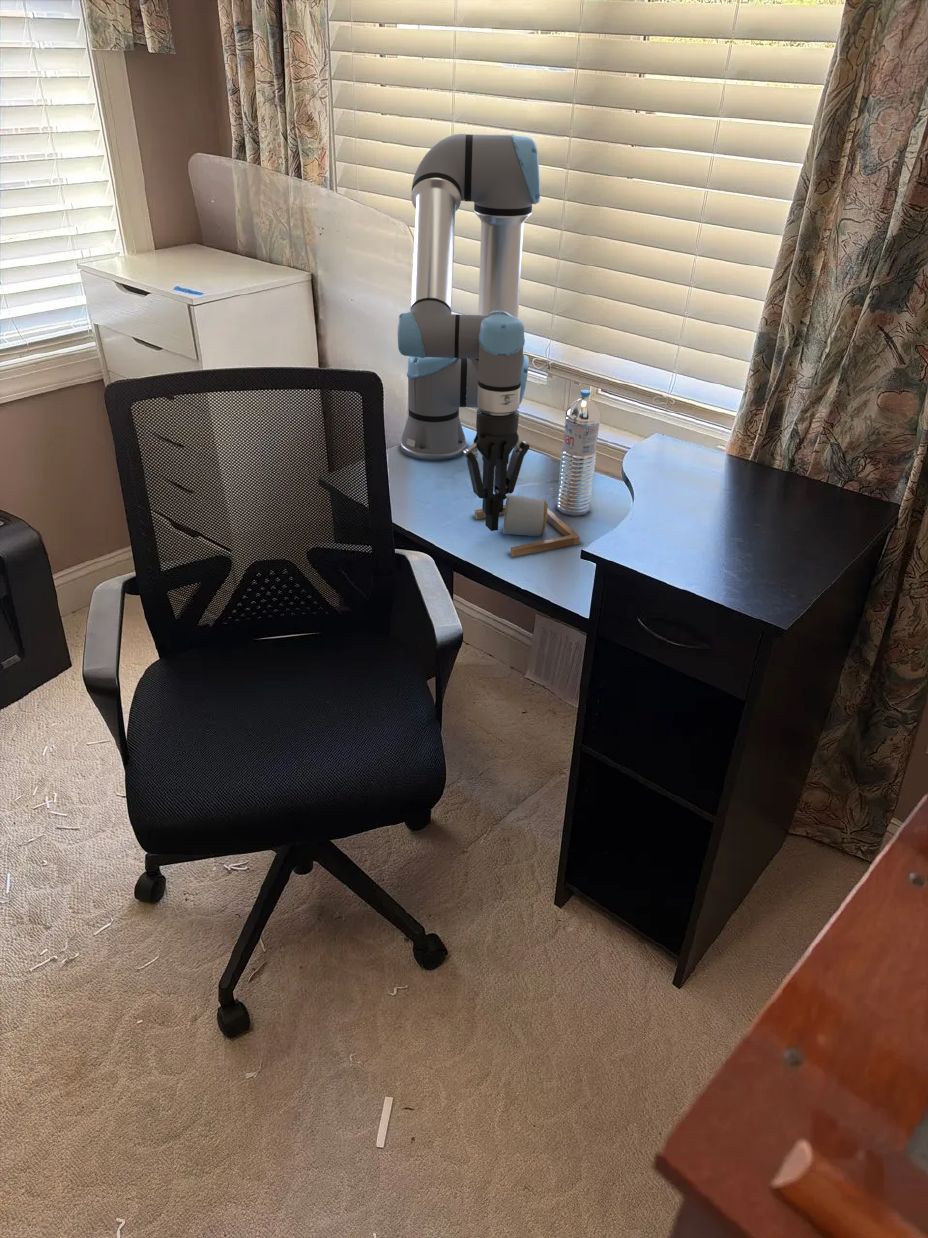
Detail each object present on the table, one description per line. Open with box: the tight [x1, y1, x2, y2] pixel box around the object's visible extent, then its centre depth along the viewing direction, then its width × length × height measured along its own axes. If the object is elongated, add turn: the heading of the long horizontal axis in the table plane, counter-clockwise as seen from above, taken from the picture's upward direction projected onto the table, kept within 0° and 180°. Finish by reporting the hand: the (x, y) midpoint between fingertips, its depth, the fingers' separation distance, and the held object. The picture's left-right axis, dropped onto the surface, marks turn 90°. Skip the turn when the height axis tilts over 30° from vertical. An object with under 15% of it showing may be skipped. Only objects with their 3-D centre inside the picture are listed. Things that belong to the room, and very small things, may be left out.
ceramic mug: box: [502, 493, 549, 537], centre depth 166 cm, size 11×8×8 cm
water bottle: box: [556, 389, 602, 517], centre depth 169 cm, size 7×7×25 cm
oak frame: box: [474, 504, 580, 558], centre depth 167 cm, size 17×14×2 cm
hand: (491, 527), depth 164 cm, fingers closed
